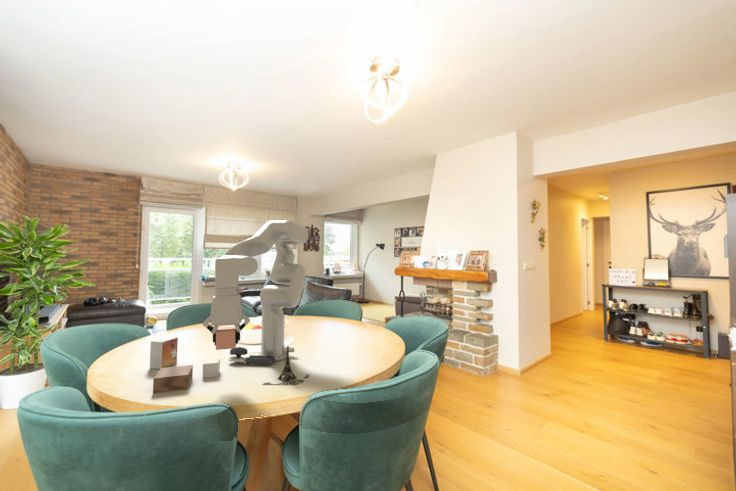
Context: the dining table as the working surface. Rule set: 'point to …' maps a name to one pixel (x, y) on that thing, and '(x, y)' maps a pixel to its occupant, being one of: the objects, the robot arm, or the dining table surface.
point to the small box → (163, 352)
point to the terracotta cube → (225, 338)
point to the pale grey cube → (211, 367)
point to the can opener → (250, 357)
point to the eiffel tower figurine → (288, 375)
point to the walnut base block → (172, 378)
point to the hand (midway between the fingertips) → (226, 342)
